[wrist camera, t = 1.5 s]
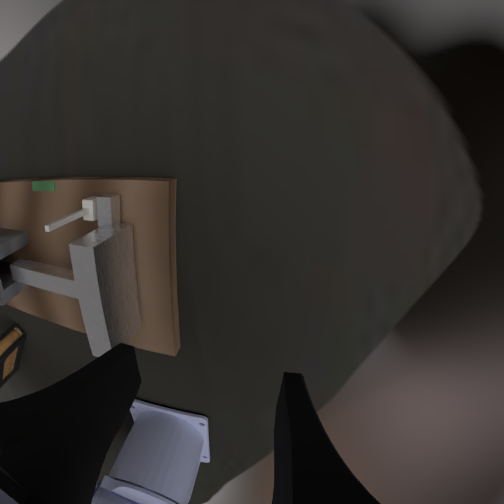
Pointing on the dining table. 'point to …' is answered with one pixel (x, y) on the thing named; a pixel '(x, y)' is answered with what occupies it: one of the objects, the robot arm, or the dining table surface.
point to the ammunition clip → (10, 352)
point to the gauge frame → (57, 241)
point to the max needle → (77, 214)
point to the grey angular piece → (96, 278)
